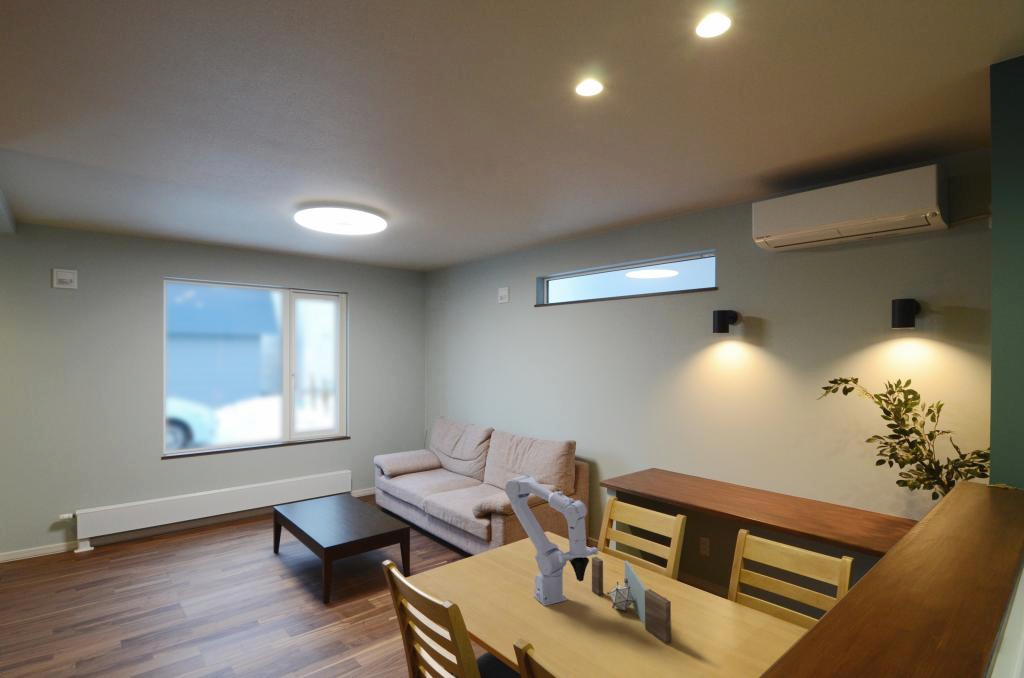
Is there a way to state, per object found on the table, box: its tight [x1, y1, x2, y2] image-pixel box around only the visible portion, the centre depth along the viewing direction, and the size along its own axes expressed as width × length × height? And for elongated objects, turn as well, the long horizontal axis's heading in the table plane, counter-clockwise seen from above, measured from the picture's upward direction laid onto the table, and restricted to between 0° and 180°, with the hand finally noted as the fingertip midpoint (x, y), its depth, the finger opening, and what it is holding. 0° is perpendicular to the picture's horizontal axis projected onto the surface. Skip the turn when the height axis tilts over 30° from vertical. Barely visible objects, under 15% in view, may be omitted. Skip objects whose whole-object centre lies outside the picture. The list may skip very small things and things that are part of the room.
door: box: [623, 560, 648, 627], centre depth 171 cm, size 2×24×11 cm, turn 3°
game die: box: [606, 581, 635, 614], centre depth 171 cm, size 9×8×10 cm
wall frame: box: [591, 556, 672, 645], centre depth 168 cm, size 2×38×12 cm, turn 26°
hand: (580, 580), depth 172 cm, fingers closed
